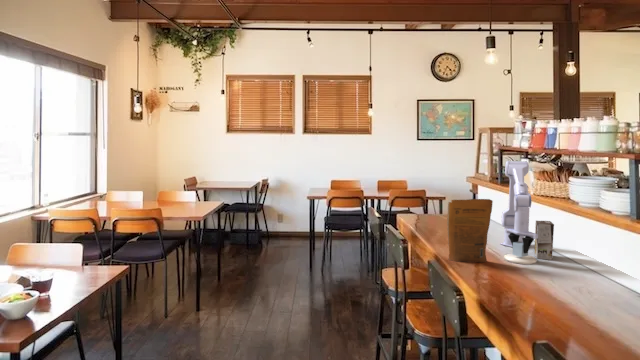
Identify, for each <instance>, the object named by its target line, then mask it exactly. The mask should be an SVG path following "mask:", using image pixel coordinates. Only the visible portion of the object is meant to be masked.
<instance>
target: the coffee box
mask: <svg viewBox="0 0 640 360" xmlns="http://www.w3.org/2000/svg"><path fill="white" fill-rule="evenodd" d="M534 227H535V229H534V231H535V232H534V233H535V234H538V239H534V251H533V252H534V256H535V258H536V259H538V260H539V259H540V260H548V261H549V260H550V261H552V260H553V250H554V249H553V247H554V246H553V245H554V231H555V229H554V228H555V224H554V222H552V221H550V220H535V226H534Z"/></svg>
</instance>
